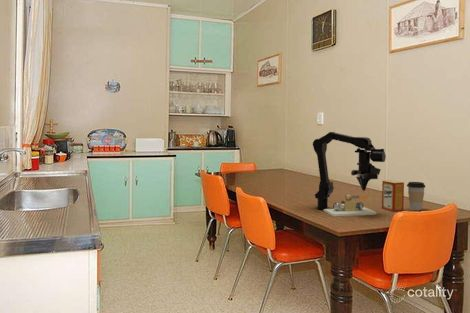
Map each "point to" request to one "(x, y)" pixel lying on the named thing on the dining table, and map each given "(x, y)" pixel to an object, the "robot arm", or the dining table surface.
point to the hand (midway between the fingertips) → (363, 190)
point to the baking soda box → (392, 195)
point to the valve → (348, 205)
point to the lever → (355, 196)
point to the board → (350, 212)
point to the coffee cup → (415, 195)
